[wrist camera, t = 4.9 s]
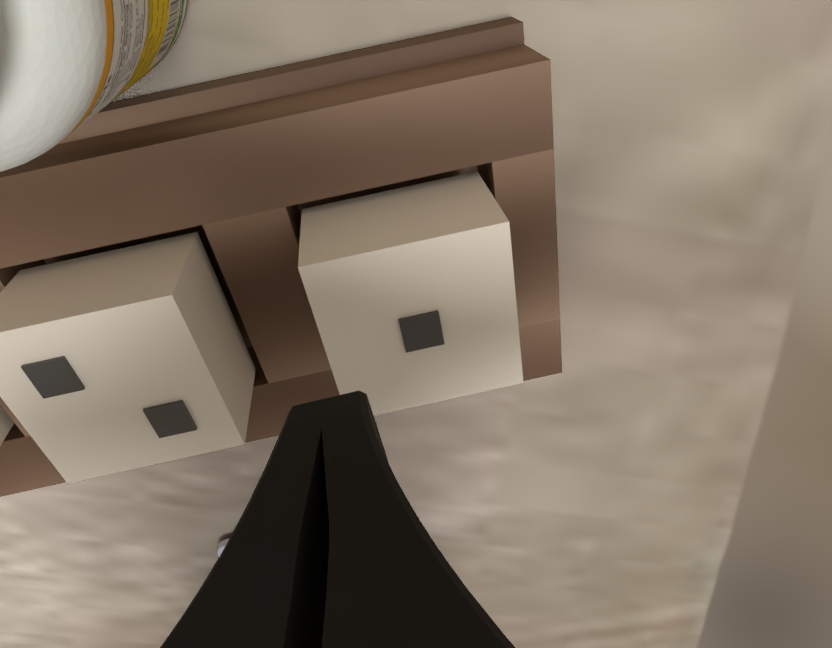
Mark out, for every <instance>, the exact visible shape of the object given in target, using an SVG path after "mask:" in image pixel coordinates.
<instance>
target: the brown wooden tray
mask: <svg viewBox="0 0 832 648" xmlns="http://www.w3.org/2000/svg"><path fill="white" fill-rule="evenodd" d="M476 171H478V173H479V175H480V176H481V178H482V179H483V181H484V182H485V184H486V186H487V187H488V189H489V190H490V192H491V193H492V195H493V197H494V198H495V200H496V201H497V203H498V204H499V206H500V208H501V209H502V211H503V212H504V214H505V215H506V217H507V219H508V220H509V224H510V235H511V246H512V258H513V269H514V281H515V292H516V303H517V315H518V326H519V337H520V349H521V360H522V372H523V381H525V380H530V379H534V378H539V377H543V376H548V375H552V374H557V373H561V372H562V360H561V333H560V307H559V281H558V254H557V228H556V201H555V175H554V148H553V122H552V95H551V69H550V59H548V58H546V57H545V56H543V55H541V54H540V53H538V52H536V51H535V50H533V49H531V48H529V47H528V46H526V45H524V32H523V22H521V21H519V20H517V19H515V18H513V17H509V18H505V19H500V20H495V21H491V22H486V23H481V24H477V25H472V26H467V27H463V28H458V29H453V30H448V31H444V32H439V33H434V34H430V35H425V36H420V37H416V38H411V39H406V40H402V41H397V42H392V43H388V44H383V45H378V46H373V47H369V48H364V49H359V50H355V51H350V52H345V53H341V54H336V55H331V56H327V57H322V58H317V59H313V60H308V61H303V62H299V63H294V64H289V65H284V66H280V67H275V68H270V69H266V70H261V71H256V72H252V73H247V74H242V75H238V76H233V77H228V78H224V79H219V80H214V81H209V82H205V83H200V84H195V85H191V86H186V87H181V88H177V89H172V90H167V91H163V92H158V93H153V94H149V95H144V96H139V97H135V98H130V99H125V100H120V101H116V102H111V103H109V104H108V105H107V106H106V107H104V108H103V109H102V110H100V111H99V112H98V113H97V114H95V115H94V116H93V117H91V118H90V119H89V120H88V121H86V122H85V123H84V124H83V125H81V126H80V127H79V128H78V129H76V130H75V131H74V132H72V133H71V134H70V135H69V136H67V137H66V138H65V139H64V140H62V141H61V142H59V143H58V144H57V145H55V146H54V147H53V148H51V149H50V150H48V151H47V152H46V153H44V154H42V155H40V156H38V157H36V158H35V159H33V160H31V161H29V162H27V163H25V164H22V165H20V166H17V167H14V168H11V169H8V170H5V171H2V172H0V292H1V291H2V290H3V289H4V288H5V287H6V286H7V284H8V283H9V282H10V281H11V280H12V279H13V278H14V276H15V275H16V274H17V273H18V272H19V271H20V270H23V269H28V268H33V267H37V266H42V265H46V264H51V263H56V262H60V261H65V260H69V259H74V258H79V257H83V256H88V255H93V254H97V253H102V252H106V251H111V250H116V249H120V248H125V247H130V246H134V245H139V244H143V243H148V242H153V241H157V240H162V239H166V238H171V237H176V236H180V235H185V234H190V233H194V232H198V234H199V237H200V239H201V241H202V244H203V246H204V248H205V251H206V253H207V255H208V258H209V260H210V262H211V265H212V267H213V269H214V272H215V274H216V276H217V279H218V281H219V284H220V286H221V288H222V291H223V293H224V295H225V298H226V300H227V302H228V305H229V307H230V309H231V312H232V314H233V316H234V319H235V321H236V323H237V326H238V328H239V331H240V333H241V335H242V338H243V340H244V342H245V345H246V347H247V349H248V352H249V354H250V356H251V359H252V361H253V363H254V366H255V368H256V372H255V378H254V385H253V392H252V399H251V405H250V412H249V419H248V426H247V433H246V439H245V442H249V441H254V440H258V439H263V438H267V437H272V436H276V435H280V433H281V430H282V428H283V425H284V423H285V420H286V418H287V415H288V413H289V411H290V410H291V408H292V407H293V406H295V405H299V404H303V403H308V402H312V401H316V400H321V399H325V398H329V397H333V396H338V395H340V394H339V391H338V388H337V385H336V382H335V379H334V376H333V373H332V370H331V367H330V364H329V360H328V357H327V354H326V351H325V348H324V345H323V342H322V339H321V336H320V333H319V330H318V327H317V324H316V321H315V318H314V315H313V312H312V309H311V306H310V303H309V300H308V297H307V294H306V291H305V288H304V285H303V282H302V279H301V276H300V273H299V270H298V258H299V243H300V228H301V214H302V209H305V208H310V207H314V206H319V205H323V204H328V203H333V202H337V201H342V200H347V199H351V198H356V197H360V196H365V195H370V194H374V193H379V192H383V191H388V190H393V189H397V188H402V187H407V186H411V185H416V184H420V183H425V182H430V181H434V180H439V179H443V178H448V177H453V176H457V175H462V174H467V173H471V172H476ZM0 405H1V406H2V408H3V409H4V410H5V411H6V413H7V414H8V415H9V417H10V418H11V419H12V420H13V422H14V425H13V426H12V428H11V429H10V431H9V433H8V434H7V436H6V438H5V439H4V441H3V442H2V444H1V446H0V497H1V496H5V495H10V494H14V493H19V492H23V491H28V490H32V489H37V488H41V487H46V486H51V485H55V484H60V483H64V482H66V481H65V480H64V478H63V477H62V476H61V474H60V473H59V472H58V471H57V469H56V468H55V467H54V465H53V464H52V463H51V461H50V460H49V459H48V458H47V456H46V455H45V454H44V452H43V451H42V450H41V449H40V447H39V446H38V445H37V443H36V442H35V441H34V440H33V438H32V437H31V436H30V434H29V433H28V432H27V431H26V429H25V428H24V427H23V425H22V424H21V423H20V422H19V420H18V419H17V418H16V416H15V415H14V414H13V413H12V411H11V410H10V409H9V407H8V406H7V405H6V404H5V402H4V401H3V400H2V398H1V397H0Z"/></svg>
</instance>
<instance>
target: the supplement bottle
mask: <svg viewBox="0 0 832 648" xmlns="http://www.w3.org/2000/svg"><path fill="white" fill-rule="evenodd" d="M186 4H187V0H0V172H2V171H5V170H8V169H11V168H14V167H17V166H20V165H22V164H25V163H27V162H29V161H31V160H33V159H35V158H36V157H38V156H40V155H42V154H44V153H46V152H47V151H48V150H50V149H51V148H53V147H54V146H55V145H57V144H58V143H59V142H61V141H62V140H64V139H65V138H66V137H67V136H69V135H70V134H71V133H72V132H74V131H75V130H76V129H78V128H79V127H80V126H81V125H83V124H84V123H85V122H86V121H88V120H89V119H90V118H91V117H93V116H94V115H95V114H97V113H98V112H99V111H100V110H102V109H103V108H104V107H106V106H107V105H108V104H109V103H110V102H112V101H113V100H114V99H116V98H117V97H118V96H120V95H121V94H122V93H123V92H125V91H126V90H127V89H128V88H129V87H131V86H132V85H133V84H135V83H136V82H137V81H138V80H139V79H141V78H142V77H143V76H145V75H146V74H147V73H148V72H149V71H151V70H152V69H153V68H154V67H155V66H156V65H157V64H158V63H159V62H160V61H161V60H162V59H163V58H164V57H165V56H166V54H167V53H168V52H169V50H170V48H171V47H172V45H173V44H174V42H175V40H176V38H177V36H178V34H179V32H180V29H181V27H182V23H183V19H184V15H185V10H186Z"/></svg>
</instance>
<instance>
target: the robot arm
mask: <svg viewBox="0 0 832 648" xmlns="http://www.w3.org/2000/svg"><path fill="white" fill-rule="evenodd" d="M217 554H218V556H219V558H218V560H217V562H216V563H215V565H214V567H213V569H212V570H211V572H210V574H209V575H208V577H207V579H206V580H205V582H204V583H203V585H202V587H201V588H200V590H199V591H198V593H197V594H196V596H195V598H194V599H193V601H192V602H191V604H190V605H189V607H188V608H187V610H186V611H185V613H184V615H183V616H182V618H181V619H180V620H179V622H178V623H177V625H176V626H175V628H174V629H173V630H172V632H171V633H170V635H169V636H168V638H167V639H166V640H165V642H164V643H163V645H162V646H161V647H160V648H515V647H514V646H513V644H512V643H511V642H510V641H509V640H508V639H507V638H506V636H505V635H504V634H503V633H502V632H501V630H500V629H499V628H498V627H497V625H496V624H495V623H494V622H493V620H492V619H491V618H490V617H489V615H488V614H487V613H486V612H485V610H484V609H483V608H482V607H481V605H480V604H479V603H478V602H477V600H476V599H475V598H474V597H473V595H472V594H471V593H470V592H469V590H468V589H467V588H466V587H465V585H464V584H463V583H462V581H461V580H460V578H459V577H458V576H457V574H456V573H455V572H454V570H453V569H452V568H451V566H450V565H449V563H448V562H447V561H446V559H445V558H444V556H443V555H442V553H441V552H440V550H439V549H438V548H437V546H436V545H435V543H434V542H433V540H432V539H431V537H430V536H429V534H428V533H427V531H426V530H425V528H424V526H423V525H422V523H421V522H420V520H419V518H418V517H417V515H416V513H415V512H414V510H413V508H412V507H411V505H410V503H409V502H408V500H407V498H406V496H405V495H404V493H403V491H402V489H401V487H400V486H399V484H398V482H397V480H396V478H395V476H394V474H393V472H392V470H391V468H390V466H389V464H388V460H387V457H386V454H385V450H384V447H383V444H382V441H381V438H380V435H379V431H378V428H377V425H376V422H375V419H374V416H373V412H372V409H371V406H370V403H369V400H368V397H367V394H365V393H363V392H361V391H355V392H351V393H346V394H342V395H338V396H333V397H329V398H325V399H321V400H316V401H312V402H308V403H303V404H299V405H295V406H293V407H292V408H291V410H290V411H289V413H288V415H287V418H286V420H285V423H284V425H283V428H282V430H281V433H280V435H279V437H278V440H277V442H276V444H275V447H274V449H273V451H272V454H271V456H270V458H269V460H268V463H267V465H266V467H265V469H264V472H263V474H262V476H261V478H260V480H259V482H258V484H257V486H256V488H255V490H254V492H253V494H252V496H251V499H250V501H249V503H248V505H247V507H246V509H245V511H244V513H243V515H242V516H241V518H240V520H239V522H238V524H237V526H236V527H235V529H234V531H233V533H232V535H231V537H230V538H228V539H225V540H222V541H221V542H220V543H219V545H218V549H217Z"/></svg>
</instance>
